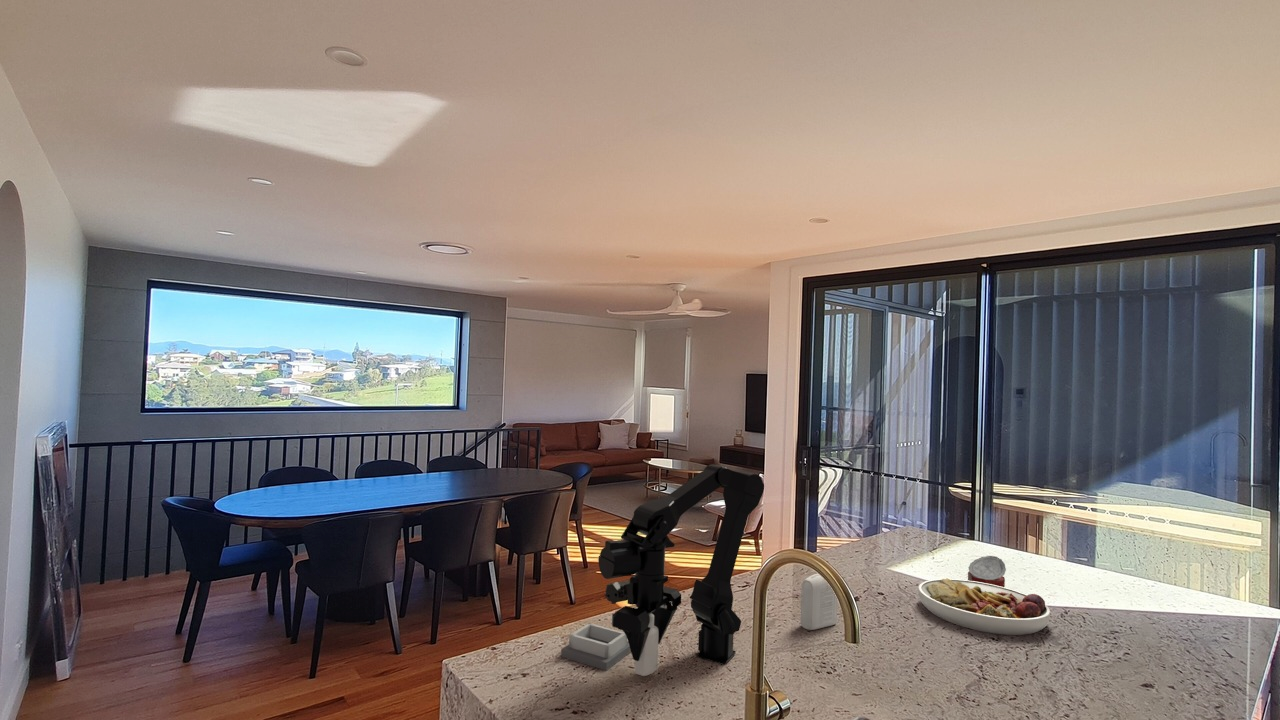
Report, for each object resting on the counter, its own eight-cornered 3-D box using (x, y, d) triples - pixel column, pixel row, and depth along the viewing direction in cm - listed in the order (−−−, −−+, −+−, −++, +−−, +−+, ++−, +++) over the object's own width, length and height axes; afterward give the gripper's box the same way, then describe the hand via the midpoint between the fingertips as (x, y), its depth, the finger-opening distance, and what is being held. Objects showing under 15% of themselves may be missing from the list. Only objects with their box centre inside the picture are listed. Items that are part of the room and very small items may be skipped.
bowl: (921, 625, 150) (921, 593, 151) (915, 589, 178) (916, 562, 179) (1064, 650, 139) (1065, 615, 140) (1034, 607, 167) (1035, 579, 167)
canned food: (1005, 604, 182) (1018, 579, 178) (972, 599, 182) (984, 574, 178) (988, 576, 192) (1001, 552, 188) (957, 571, 193) (968, 547, 188)
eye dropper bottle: (628, 668, 119) (630, 606, 119) (652, 662, 121) (655, 602, 122) (638, 678, 115) (641, 614, 115) (664, 672, 118) (666, 609, 118)
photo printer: (825, 618, 152) (827, 568, 152) (839, 624, 148) (841, 573, 149) (797, 626, 146) (799, 574, 147) (811, 632, 143) (813, 579, 143)
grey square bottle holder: (633, 650, 129) (634, 631, 129) (606, 670, 119) (607, 650, 120) (590, 638, 134) (590, 619, 135) (560, 656, 125) (561, 636, 125)
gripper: (636, 553, 131) (633, 626, 130) (589, 575, 115) (585, 659, 114) (683, 562, 126) (680, 638, 125) (641, 587, 109) (637, 675, 109)
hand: (646, 651), depth 118 cm, fingers closed on eye dropper bottle, 8 cm apart
